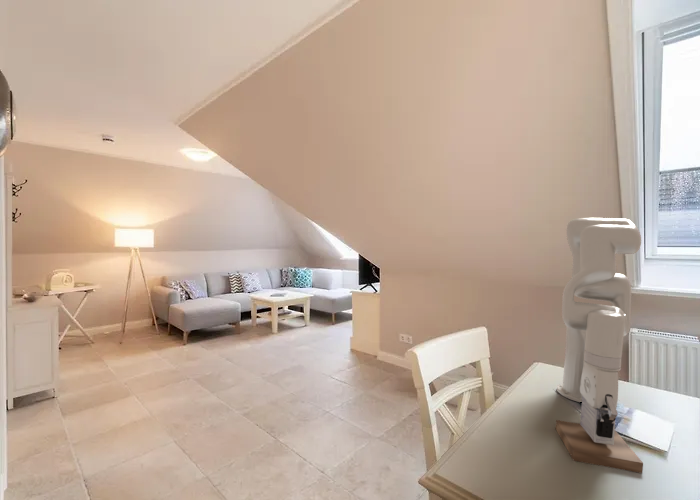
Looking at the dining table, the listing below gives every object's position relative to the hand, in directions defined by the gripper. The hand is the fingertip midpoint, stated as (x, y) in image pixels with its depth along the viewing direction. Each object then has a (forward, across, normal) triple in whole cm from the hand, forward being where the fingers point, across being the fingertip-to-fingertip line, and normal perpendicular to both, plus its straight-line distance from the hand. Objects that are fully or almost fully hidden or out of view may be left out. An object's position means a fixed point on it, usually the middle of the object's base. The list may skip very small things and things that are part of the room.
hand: (596, 426), depth 88 cm
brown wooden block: (+6, 0, 0) cm, 6 cm away
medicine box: (+2, 0, 0) cm, 3 cm away
